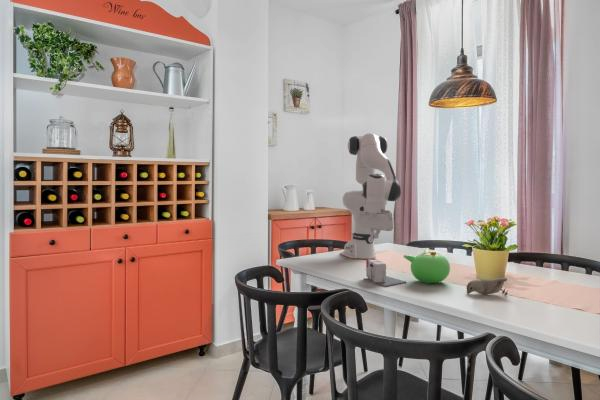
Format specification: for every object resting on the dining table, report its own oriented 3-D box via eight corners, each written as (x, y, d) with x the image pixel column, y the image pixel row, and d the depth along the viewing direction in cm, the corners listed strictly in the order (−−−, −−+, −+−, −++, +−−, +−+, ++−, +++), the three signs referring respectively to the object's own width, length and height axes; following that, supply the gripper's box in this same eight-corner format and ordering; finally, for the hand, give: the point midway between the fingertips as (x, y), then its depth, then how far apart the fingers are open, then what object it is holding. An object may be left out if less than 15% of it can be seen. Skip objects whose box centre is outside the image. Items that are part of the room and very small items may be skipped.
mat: (363, 280, 196) (363, 278, 196) (383, 276, 203) (383, 275, 203) (385, 287, 184) (385, 285, 184) (406, 282, 192) (406, 281, 191)
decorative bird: (464, 292, 178) (465, 274, 178) (504, 294, 177) (505, 276, 176) (468, 296, 173) (469, 278, 172) (509, 297, 171) (510, 279, 171)
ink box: (365, 259, 199) (376, 264, 188) (375, 258, 200) (386, 263, 189) (365, 277, 200) (376, 283, 188) (375, 276, 201) (386, 282, 189)
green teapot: (430, 289, 181) (431, 255, 180) (401, 280, 195) (401, 249, 194) (457, 283, 191) (458, 251, 190) (427, 275, 205) (428, 245, 204)
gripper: (396, 210, 191) (395, 240, 192) (365, 206, 208) (365, 234, 209) (386, 211, 188) (386, 242, 189) (356, 207, 205) (355, 235, 206)
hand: (374, 238), depth 199 cm, fingers closed
